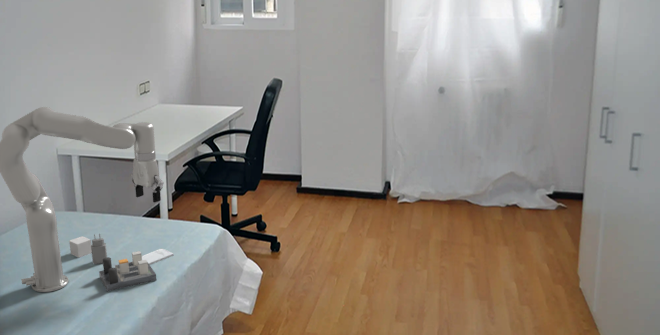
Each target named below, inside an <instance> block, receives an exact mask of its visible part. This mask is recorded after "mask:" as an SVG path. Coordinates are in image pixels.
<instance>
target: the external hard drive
mask: <svg viewBox="0 0 660 335" xmlns="http://www.w3.org/2000/svg"><path fill="white" fill-rule="evenodd" d="M173 256H174V253H173V252H171V251H169V250H167V249H164V248H159V249H156V250H154V251H150V252H149V253H146V254H144V255H142V260H146V261H147V262H148V264H149V265H150V266H151V265H153V264H155V263H158V262H162V261H163V260H166V259H169V258H171V257H173Z"/></svg>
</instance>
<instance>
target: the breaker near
mask: <svg viewBox="0 0 660 335" xmlns="http://www.w3.org/2000/svg"><path fill="white" fill-rule="evenodd" d="M138 269H139V275H142V274H146V273H149V272H148V262H147V261H146V260H142V261H138Z"/></svg>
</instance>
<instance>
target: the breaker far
mask: <svg viewBox="0 0 660 335" xmlns="http://www.w3.org/2000/svg"><path fill="white" fill-rule="evenodd" d="M142 256H143V255H142V252H141V251H140V250H139V251H132V252H131V257H132V262H133V266H134V265H138V261H142Z"/></svg>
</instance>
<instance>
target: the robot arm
mask: <svg viewBox="0 0 660 335" xmlns="http://www.w3.org/2000/svg"><path fill="white" fill-rule="evenodd" d="M40 135H43V136H49V137H55V138H63V139H69V140H76V141H82V142H84V143H88V144H91V145H92V144H93V145H97V146H100V147H104V148H110V149H111V148H113V149H118V150H127V149H130V148H132V147H133V152H134V158H133V162H132V173H131V174H130V178H131V180H132V183H133V186H134V188H135V189H134V190H135V197H136V198H140V197H143V196H144V194H145V193H144V187H145V188H148V189H149V188H151V189H152V191H153V192H152V202H153V203H154V204H155V203H158V202H160V201H161V200H162V199H161V191H162V189H163V187H164V181H163V180H162V178H160V172H159V167H158V163H157V157H156V144H155V128H154V125H153V124H152V123H151V122H143V121H142V122H137V123H125V122H120V123H115V124H114V125H113V126H109V125H104V124H101V123H98V122H95V121H93V120H92V119H90V118H88V117H86V116H83V115H82V116H81V115H76V114H71V113H70V114H69V113H64V112H58V111H55V110H54V109H52V108H50V107H48V106H40V107H38V108H36V109H34V110H31V112H29V113H27V114H25V115H23V116H22V117H20V118H18V119H16V120H14V121H13V122H11V123H10V124H8V125H7V126H5V127H4V129H3V130H2V134H1V140H0V175H1V177H2V179H3V181H4V182H5V184H6V186H7V188H8V190H9V191H10V193H11V195H12V197H13V198H14V200H15V201H16V202H17V203H19V204H20V205H21V207H22V209H23V210H24V212H25V221H26V226H27V231H28V239H29V246H30V251H31V258H32V264H33V271H34V273H33V274H32V276H30V277H25V278H21V284H22V285H26V286H31V289H32V290H33V291H35V292H38V293H49V292H55V291H58V290H61V289H62V288H65V287H66V286H67V285H68V284H69V277H68V276H66V275H65V274H64V270H63V263H62V256H61V249H60V240H59V235H58V234H59V233H58V222H57V216H56V212H55V207H54V204H53V202H52V200H51V198H50V196H49V195H48V193H47V192H46V190H45V188H44V186H43V185H42V183H41V181H40V179H39V178H38V176H36V174H34V173H33V172H31V171H30V169H29V167H28V165H27V164H26V163H25V161H24V159H23V157H24V156H23V155H24V153H25V152H26V150H27V149H28V148H29V145H30V141H32V140H33V139H35V138H37V137H38V136H40Z"/></svg>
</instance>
